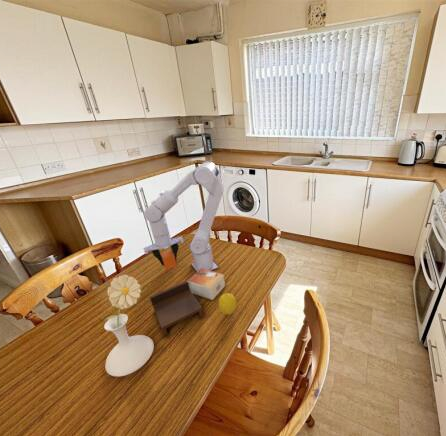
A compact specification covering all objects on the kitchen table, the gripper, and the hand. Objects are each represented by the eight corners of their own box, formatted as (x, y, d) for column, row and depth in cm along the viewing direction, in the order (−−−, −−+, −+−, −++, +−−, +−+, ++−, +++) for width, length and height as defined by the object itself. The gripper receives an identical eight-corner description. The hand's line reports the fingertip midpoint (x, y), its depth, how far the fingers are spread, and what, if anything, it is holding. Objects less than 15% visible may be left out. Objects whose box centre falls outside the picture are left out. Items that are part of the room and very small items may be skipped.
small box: (210, 288, 80) (186, 280, 84) (212, 300, 83) (189, 292, 87) (223, 274, 87) (200, 267, 91) (225, 285, 90) (203, 279, 93)
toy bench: (155, 312, 79) (149, 296, 76) (190, 296, 85) (186, 280, 82) (164, 337, 70) (159, 320, 67) (203, 316, 76) (200, 300, 73)
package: (162, 264, 99) (159, 253, 97) (173, 260, 102) (170, 249, 100) (165, 269, 96) (162, 258, 94) (177, 265, 98) (174, 254, 96)
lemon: (240, 309, 78) (238, 291, 75) (231, 322, 74) (228, 303, 71) (227, 305, 81) (224, 286, 77) (216, 317, 76) (213, 298, 73)
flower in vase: (121, 389, 57) (83, 313, 46) (99, 365, 63) (59, 292, 52) (169, 347, 67) (146, 275, 56) (145, 329, 73) (120, 262, 62)
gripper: (141, 243, 86) (151, 273, 92) (182, 231, 93) (189, 260, 99) (139, 235, 91) (148, 264, 97) (178, 225, 98) (184, 253, 104)
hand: (168, 262), depth 98 cm, fingers closed on package, 4 cm apart
